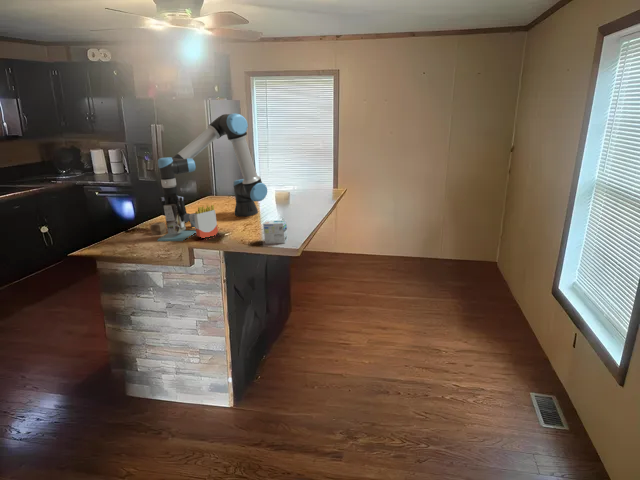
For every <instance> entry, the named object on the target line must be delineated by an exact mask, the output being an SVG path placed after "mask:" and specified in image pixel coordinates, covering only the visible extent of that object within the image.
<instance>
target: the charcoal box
mask: <svg viewBox="0 0 640 480" xmlns="http://www.w3.org/2000/svg"><path fill="white" fill-rule="evenodd" d="M189 214H190V213H187V214H185V215H184V221H185V222H186V223H189V222H188V221H190V218H189Z"/></svg>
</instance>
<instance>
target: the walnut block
mask: <svg viewBox="0 0 640 480" xmlns="http://www.w3.org/2000/svg"><path fill="white" fill-rule="evenodd" d="M149 227H150V228H149V229H150V231H151V235H152V236H163V235H165V234H167V233H168V230H167V225H166V221H165V222H164V221H163V222H162V221H161V222H160V221H159V222H156V221H155V222H154V223H152V224H150V225H149Z"/></svg>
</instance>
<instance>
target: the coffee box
mask: <svg viewBox="0 0 640 480" xmlns="http://www.w3.org/2000/svg"><path fill="white" fill-rule="evenodd" d="M178 202H179V203H177V204H172V203H171V204H166V203H165V205H164V212H165V216H164V217H165V225H166V231H167V234H178V233H180V232H182V231H186V229H187V228H186V223H185V221H183V222H184V227H182V228H181V227H180V221H179V216H180V215H179V213H178V209H177V205H178V204H179V205H180V201H178ZM180 207H181V206H180Z"/></svg>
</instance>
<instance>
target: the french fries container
mask: <svg viewBox="0 0 640 480" xmlns="http://www.w3.org/2000/svg"><path fill="white" fill-rule="evenodd" d="M197 208H198V209H197V211H194V213H195V228H194V229H195V231H196V234H195V235H196V236H197V237H199V238H200V237H201V238H200V239H202V238H205V237H210V236H214V235H215V236H216V235H217V234H218V232H219V230H218V224H217V215H216V210H215V206H214V205H213V204H211V205H210V206H209V204H208V205H207V204H206V207H205V208H204V206H198V207H197Z"/></svg>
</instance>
